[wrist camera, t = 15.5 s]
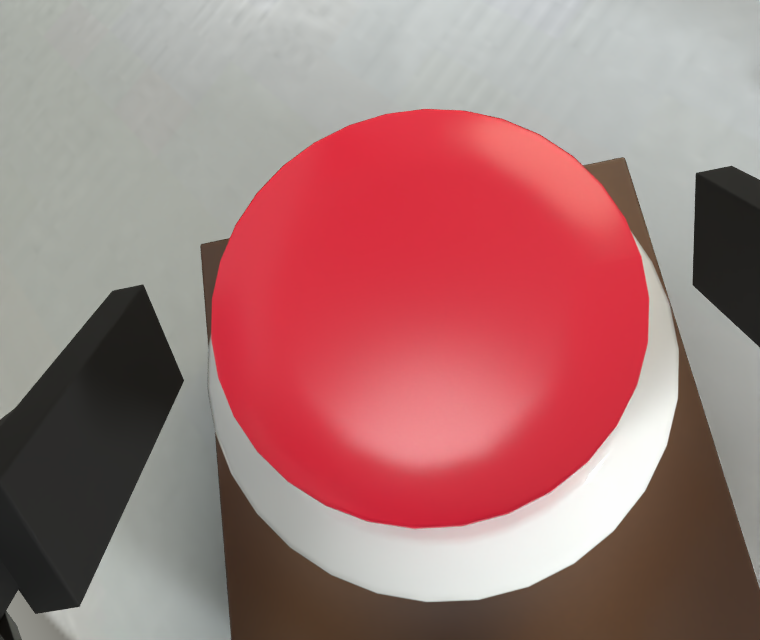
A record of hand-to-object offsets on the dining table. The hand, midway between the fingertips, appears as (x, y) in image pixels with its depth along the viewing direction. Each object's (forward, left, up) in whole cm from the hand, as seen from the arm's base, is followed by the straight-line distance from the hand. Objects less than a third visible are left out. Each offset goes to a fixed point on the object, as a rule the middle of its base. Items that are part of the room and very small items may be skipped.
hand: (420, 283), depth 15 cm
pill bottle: (0, -3, -5) cm, 5 cm away
